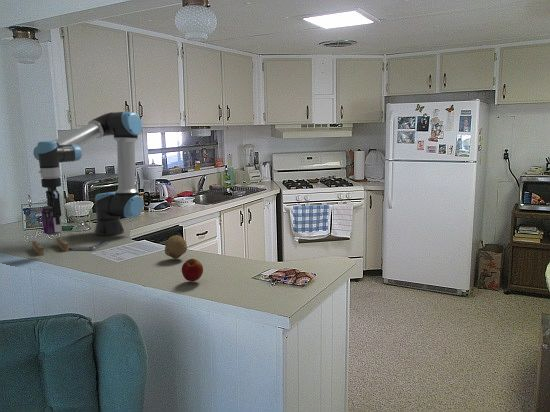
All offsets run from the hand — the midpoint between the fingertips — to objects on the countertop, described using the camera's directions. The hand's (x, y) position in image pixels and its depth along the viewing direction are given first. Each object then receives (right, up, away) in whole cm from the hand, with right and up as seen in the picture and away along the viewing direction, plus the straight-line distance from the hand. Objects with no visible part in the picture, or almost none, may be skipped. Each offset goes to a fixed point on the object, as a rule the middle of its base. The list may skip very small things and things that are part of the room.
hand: (56, 230), depth 199 cm
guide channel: (-9, -10, +12) cm, 18 cm away
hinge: (+9, -9, +14) cm, 19 cm away
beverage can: (-2, -2, 0) cm, 2 cm away
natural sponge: (+54, -12, -6) cm, 56 cm away
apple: (+66, -16, -36) cm, 77 cm away
